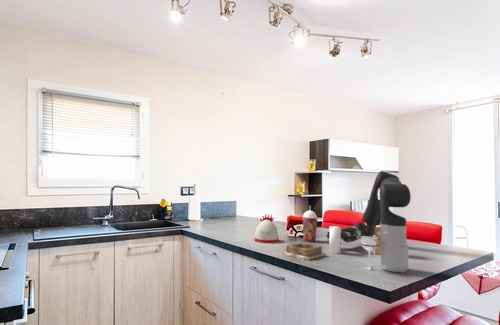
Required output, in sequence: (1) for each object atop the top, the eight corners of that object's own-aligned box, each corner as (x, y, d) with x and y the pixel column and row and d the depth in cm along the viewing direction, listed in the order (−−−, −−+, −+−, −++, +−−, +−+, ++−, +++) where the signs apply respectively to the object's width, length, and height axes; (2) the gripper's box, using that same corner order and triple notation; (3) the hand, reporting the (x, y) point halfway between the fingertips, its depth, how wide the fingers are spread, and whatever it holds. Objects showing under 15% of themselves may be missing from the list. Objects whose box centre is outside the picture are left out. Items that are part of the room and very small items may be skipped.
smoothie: (319, 240, 178) (319, 205, 179) (314, 243, 171) (314, 206, 172) (305, 239, 182) (305, 204, 184) (300, 241, 175) (300, 205, 177)
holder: (325, 255, 142) (325, 246, 142) (309, 260, 132) (309, 250, 132) (299, 250, 152) (299, 241, 152) (282, 254, 141) (282, 245, 142)
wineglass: (381, 268, 122) (381, 237, 122) (375, 272, 117) (375, 239, 117) (364, 265, 126) (364, 235, 127) (357, 268, 121) (357, 237, 122)
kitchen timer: (277, 243, 167) (278, 215, 168) (252, 242, 169) (253, 214, 170) (279, 239, 181) (279, 213, 182) (256, 238, 183) (256, 212, 184)
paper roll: (342, 252, 149) (342, 227, 150) (337, 254, 145) (337, 228, 146) (332, 250, 152) (332, 226, 153) (327, 252, 149) (327, 227, 149)
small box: (374, 254, 147) (374, 226, 148) (376, 251, 152) (376, 225, 153) (393, 256, 143) (393, 228, 144) (394, 254, 148) (394, 226, 149)
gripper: (338, 225, 167) (322, 227, 155) (364, 228, 157) (349, 231, 145) (337, 239, 166) (322, 243, 154) (364, 243, 156) (349, 247, 145)
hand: (335, 237), depth 150 cm, fingers open, 8 cm apart
